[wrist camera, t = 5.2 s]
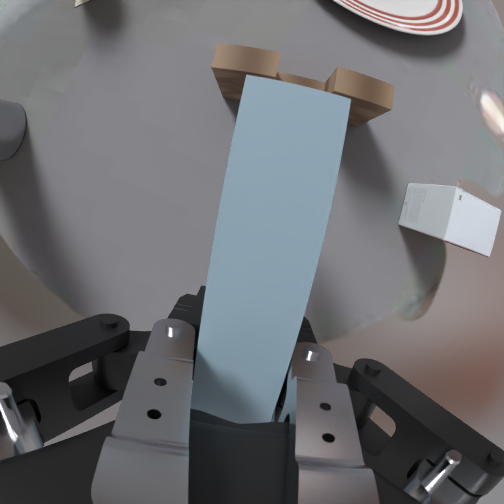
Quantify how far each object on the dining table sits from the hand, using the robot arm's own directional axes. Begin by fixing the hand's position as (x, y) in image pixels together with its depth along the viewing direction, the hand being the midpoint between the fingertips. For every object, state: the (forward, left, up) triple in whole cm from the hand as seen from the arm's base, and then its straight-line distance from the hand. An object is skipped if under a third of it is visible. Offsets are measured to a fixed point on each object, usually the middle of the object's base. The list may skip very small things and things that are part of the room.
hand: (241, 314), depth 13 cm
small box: (+22, +7, -23) cm, 33 cm away
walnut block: (+2, +16, -23) cm, 28 cm away
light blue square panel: (0, 0, -10) cm, 10 cm away
